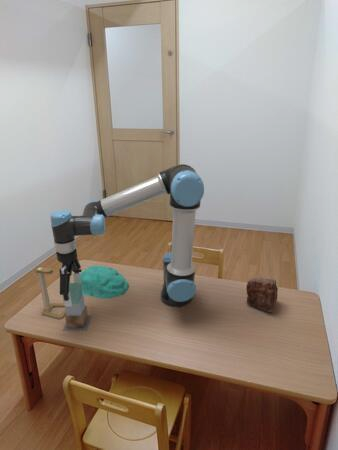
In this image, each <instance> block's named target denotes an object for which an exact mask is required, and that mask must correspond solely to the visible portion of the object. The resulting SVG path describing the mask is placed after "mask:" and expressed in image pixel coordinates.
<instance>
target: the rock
mask: <svg viewBox="0 0 338 450" xmlns="http://www.w3.org/2000/svg"><path fill="white" fill-rule="evenodd" d="M245 286H246V289H245V290H246V294H247V297H246V304H247V305H250V306H251V307H254V308H256V309H258V310H261V311H264V312H268V313H272V312H274V311H275V308H276V304H277V301H278V291H279V288H278V286H277V280H276V279H272V278H264V277H254V278H250V279H249V280H248V281H247V284H246V285H245Z"/></svg>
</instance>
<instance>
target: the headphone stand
mask: <svg viewBox="0 0 338 450" xmlns="http://www.w3.org/2000/svg"><path fill="white" fill-rule="evenodd" d="M53 271H54V270H53V268H52V267H51V268H47V267H42V266H38V267H37V268H36V269H35V273H36V274H37V276H38V281H39V286H40V292H41V299H42V302H43V310H42V311H41V315H42V316H45V317H48V318H51V319H56V320H63V319H64V318H65V316H66V308H65V304H64V302H63V303H62V302H61V303H59V302H57V303H52V302H51V301H50V296H49V293H48V287H47V283H46V279H45V274H46V275H51V274H53ZM53 308H64V309H63V311H62V312H61V313H60V314H57V313H53V312H51V310H53Z"/></svg>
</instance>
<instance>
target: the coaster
mask: <svg viewBox="0 0 338 450" xmlns="http://www.w3.org/2000/svg"><path fill="white" fill-rule="evenodd" d="M92 317H93V314H88V319H87V321H86V324H85V327H84V328H67V324H66V323H64V324H65V325H64V327H63V329H62V331H63V332H64V331H65V332H74V331H75V332H76V331H77V332H78V331H79V332H80V331H81V332H87V330H88V329H89V328H88V327H89V325H90V322H91V320H92Z"/></svg>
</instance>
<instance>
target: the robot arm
mask: <svg viewBox="0 0 338 450" xmlns="http://www.w3.org/2000/svg"><path fill="white" fill-rule="evenodd" d="M204 194H205V185H204V182H203V180H202V178H201V176H200V175H199V174H198V173H197V172H196V169H194V168H193V167H192V166H191V165H189V164H183V163H181V164H175V165H174V166H171V167H169V168H167V169H164V170H162V171H160V172H158V173H157V175H156V176H154V177H151V178H149V179H148V180H145V181H142V182H140V183H137V184H136V185H132V186H130V187H128V188H126V189H124V190H121V191H119V192H117V193H114V194H112V195H109V196H107V197H105V198H102V199H101V200H98V201H97V200H91V201H89V202H88V203H87V204H86V205H85V206H84V209H83V212H82V215H73V214H72V212H71V211H70V210H68V209H67V210H65V209H60V210H56V211H53V212H52V213H51V215H50V223H51V225H50V226H51V231H52V236H53V245H54V246H55V251H56V252H55V253H56V259H57V261H58V262H59V263H61V268H59V295H60V296H61V295H63V296H62V300H63V299H64V302H63V303H64V304H65V306H72V301H71V295H70V291H69V284H70V283H71V276H72V279H73V283H81V279H80V274H81V273H82V272H83V270H82V269H81V268H82V266H81V265H80V261H79V260H78V252H77V251H78V250H77V244H76V239H75V237H79V236H98V235H103V234H104V233H106V218H108V217H110V216H113V215H115V214H119V213H120V212H124V211H125V210H128V209H129V208H133V207H135V206H137V205H140V204H143V203H144V202H147V201H149V200H153V199H155V198H157V197H159V196H161V195H167V196H169V206H170V208H171V209H172V230H171V232H172V233H171V251H168V252H166V253H164V254H163V256H162V264H163V267H162V269H163V271H162V272H163V284H162V287H161V290H160V300H161V302H162V303H164V304H165V305H167V306H169V307H183V306H185V305H188V304H190V303H191V302H192V299H193V297H194V296H195V294H196V291H197V286H196V284H195V276H196V275H195V274H196V266H195V265H194V264H193V253H194V239H195V238H194V236H195V224H196V214H197V213H196V211H197V210H199V208H200V207H201V203H202V202H201V200H202V199H203V197H204Z"/></svg>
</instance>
